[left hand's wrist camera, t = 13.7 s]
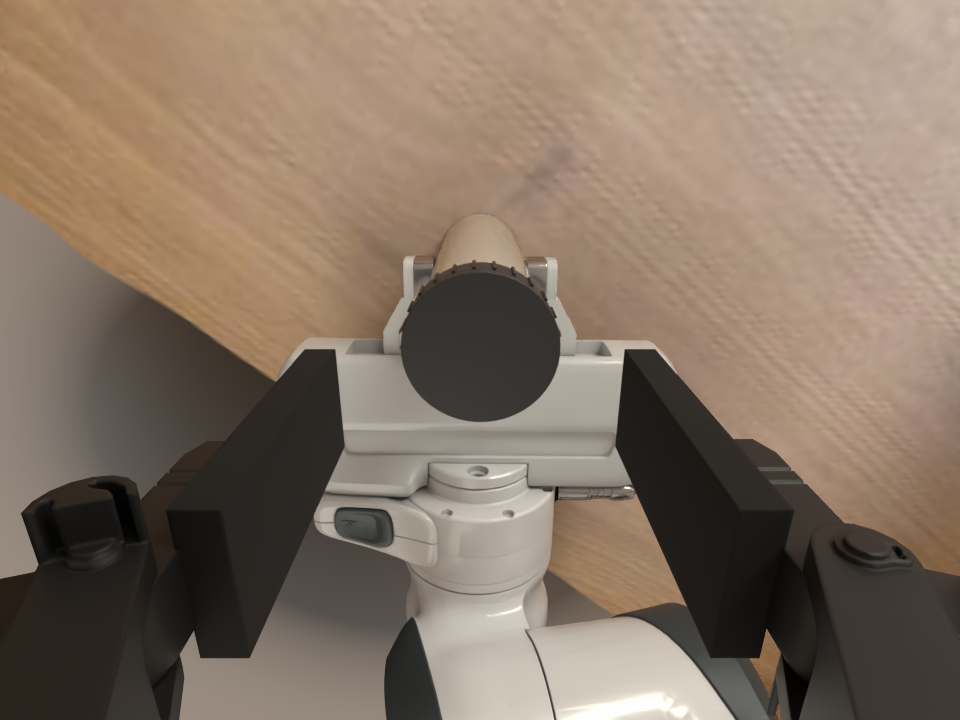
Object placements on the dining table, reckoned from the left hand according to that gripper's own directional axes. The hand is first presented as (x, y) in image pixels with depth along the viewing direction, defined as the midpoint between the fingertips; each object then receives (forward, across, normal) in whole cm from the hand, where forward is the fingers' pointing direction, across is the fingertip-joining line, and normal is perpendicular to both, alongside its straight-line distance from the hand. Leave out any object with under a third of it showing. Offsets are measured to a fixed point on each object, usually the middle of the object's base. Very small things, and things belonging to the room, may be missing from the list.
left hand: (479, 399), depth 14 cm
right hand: (+15, 0, -1) cm, 15 cm away
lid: (+4, 0, 0) cm, 4 cm away
